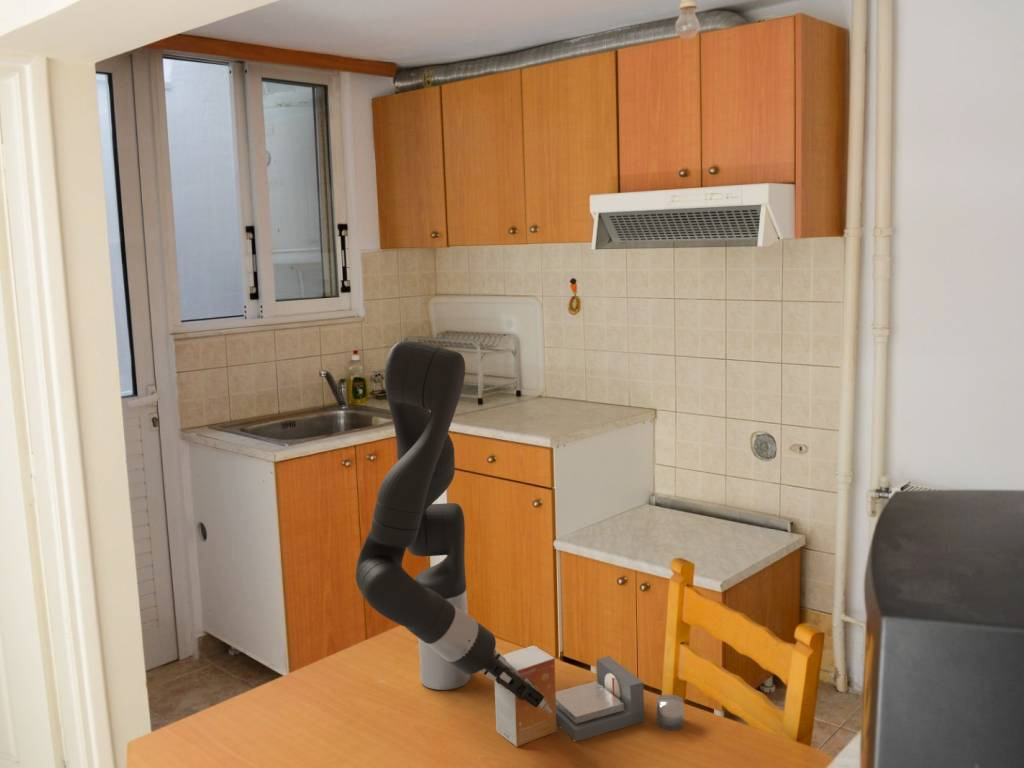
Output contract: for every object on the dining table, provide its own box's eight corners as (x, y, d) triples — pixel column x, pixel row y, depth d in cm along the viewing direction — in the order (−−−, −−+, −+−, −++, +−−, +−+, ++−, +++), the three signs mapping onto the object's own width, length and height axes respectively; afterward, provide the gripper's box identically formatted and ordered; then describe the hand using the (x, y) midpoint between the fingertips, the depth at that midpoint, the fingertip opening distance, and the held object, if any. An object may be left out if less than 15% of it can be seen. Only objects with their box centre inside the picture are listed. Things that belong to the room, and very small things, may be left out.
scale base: (544, 711, 161) (542, 673, 159) (609, 693, 166) (608, 656, 165) (575, 741, 151) (573, 701, 150) (643, 721, 156) (643, 682, 155)
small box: (516, 748, 149) (513, 671, 147) (495, 731, 155) (492, 657, 153) (558, 732, 154) (555, 657, 152) (535, 716, 159) (533, 643, 157)
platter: (550, 699, 160) (550, 693, 159) (596, 687, 163) (596, 681, 163) (575, 723, 152) (575, 717, 151) (623, 710, 155) (623, 703, 155)
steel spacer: (651, 720, 156) (651, 698, 156) (673, 714, 158) (673, 692, 157) (666, 733, 152) (666, 710, 152) (689, 726, 154) (689, 703, 154)
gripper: (492, 635, 141) (562, 689, 148) (457, 604, 154) (523, 654, 160) (461, 677, 140) (533, 729, 146) (428, 641, 152) (496, 691, 159)
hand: (528, 690), depth 153 cm, fingers open, 8 cm apart
